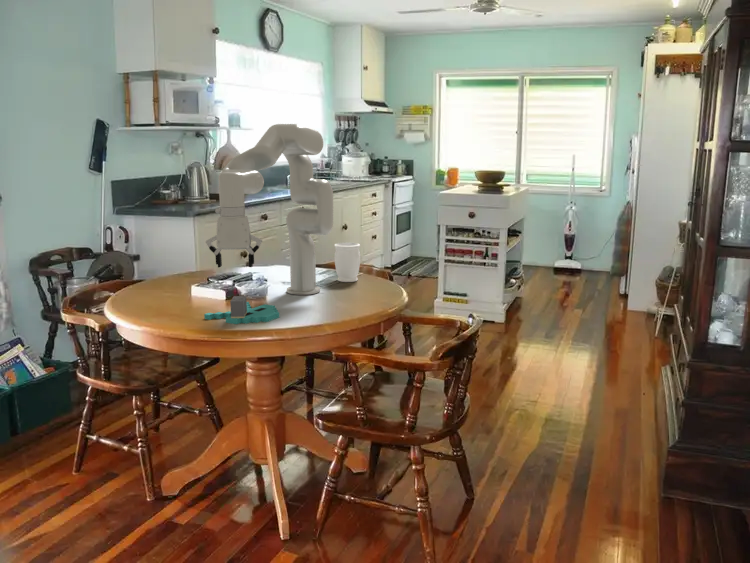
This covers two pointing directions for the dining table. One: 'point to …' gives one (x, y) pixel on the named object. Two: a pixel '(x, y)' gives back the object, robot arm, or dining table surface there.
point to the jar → (347, 261)
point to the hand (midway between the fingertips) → (235, 266)
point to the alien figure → (248, 315)
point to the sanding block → (238, 307)
